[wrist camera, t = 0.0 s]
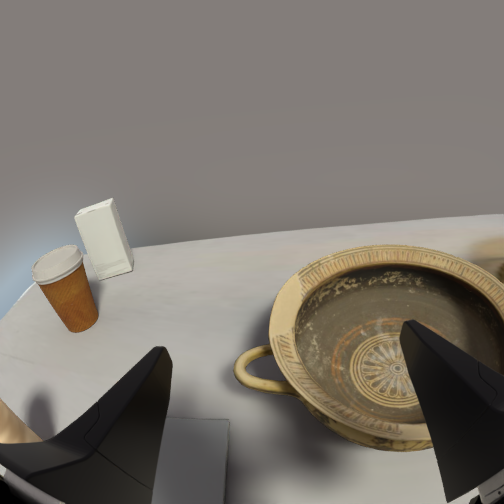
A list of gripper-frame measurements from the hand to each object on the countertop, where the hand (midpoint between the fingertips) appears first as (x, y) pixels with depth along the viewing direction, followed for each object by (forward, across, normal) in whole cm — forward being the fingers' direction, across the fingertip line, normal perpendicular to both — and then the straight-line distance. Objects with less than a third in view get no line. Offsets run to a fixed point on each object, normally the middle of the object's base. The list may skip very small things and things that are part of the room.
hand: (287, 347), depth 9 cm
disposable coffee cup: (+23, +32, +17) cm, 43 cm away
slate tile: (0, +12, +17) cm, 20 cm away
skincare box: (+40, +33, +17) cm, 54 cm away
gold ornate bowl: (+9, -11, +17) cm, 22 cm away
